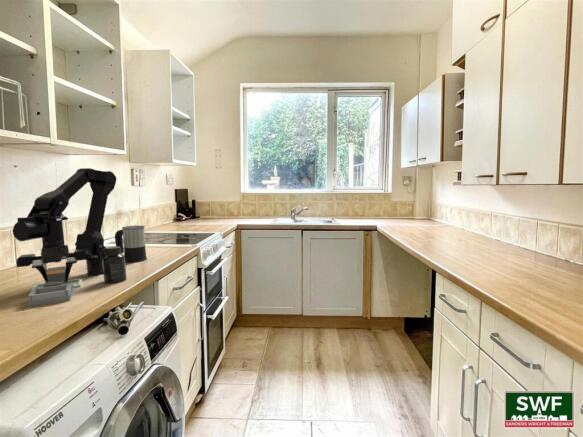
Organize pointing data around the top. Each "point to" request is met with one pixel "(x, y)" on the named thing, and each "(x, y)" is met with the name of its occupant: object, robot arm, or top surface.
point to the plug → (56, 274)
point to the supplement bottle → (114, 265)
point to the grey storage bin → (51, 293)
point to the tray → (76, 283)
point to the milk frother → (132, 243)
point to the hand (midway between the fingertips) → (57, 283)
